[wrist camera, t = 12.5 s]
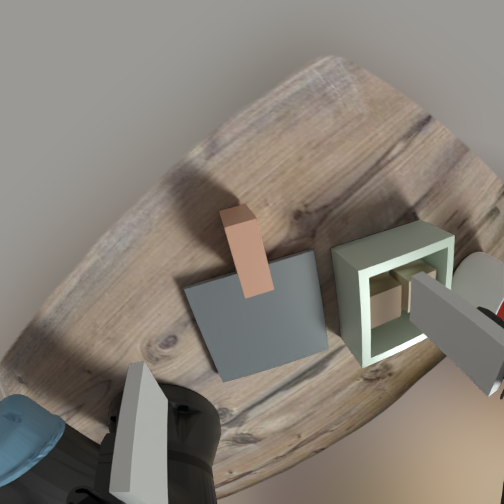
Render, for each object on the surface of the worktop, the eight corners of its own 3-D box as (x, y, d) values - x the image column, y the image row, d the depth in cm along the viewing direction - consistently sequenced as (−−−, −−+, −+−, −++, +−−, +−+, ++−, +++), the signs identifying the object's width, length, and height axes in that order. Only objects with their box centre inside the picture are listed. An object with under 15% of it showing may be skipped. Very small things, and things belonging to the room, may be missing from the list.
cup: (440, 273, 35) (491, 308, 26) (483, 236, 35) (533, 261, 26) (447, 321, 39) (487, 357, 30) (486, 286, 39) (528, 313, 29)
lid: (221, 374, 34) (227, 412, 28) (163, 225, 27) (155, 248, 21) (324, 342, 35) (344, 375, 29) (297, 187, 28) (323, 199, 22)
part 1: (353, 310, 33) (369, 329, 29) (350, 280, 31) (368, 297, 28) (382, 299, 33) (400, 316, 30) (381, 269, 32) (401, 284, 28)
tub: (340, 337, 35) (362, 368, 30) (330, 247, 31) (358, 271, 25) (418, 304, 36) (445, 327, 30) (420, 219, 31) (454, 235, 26)
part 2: (389, 296, 33) (407, 312, 30) (388, 266, 32) (409, 281, 28) (415, 285, 34) (434, 300, 30) (415, 256, 32) (436, 269, 28)
